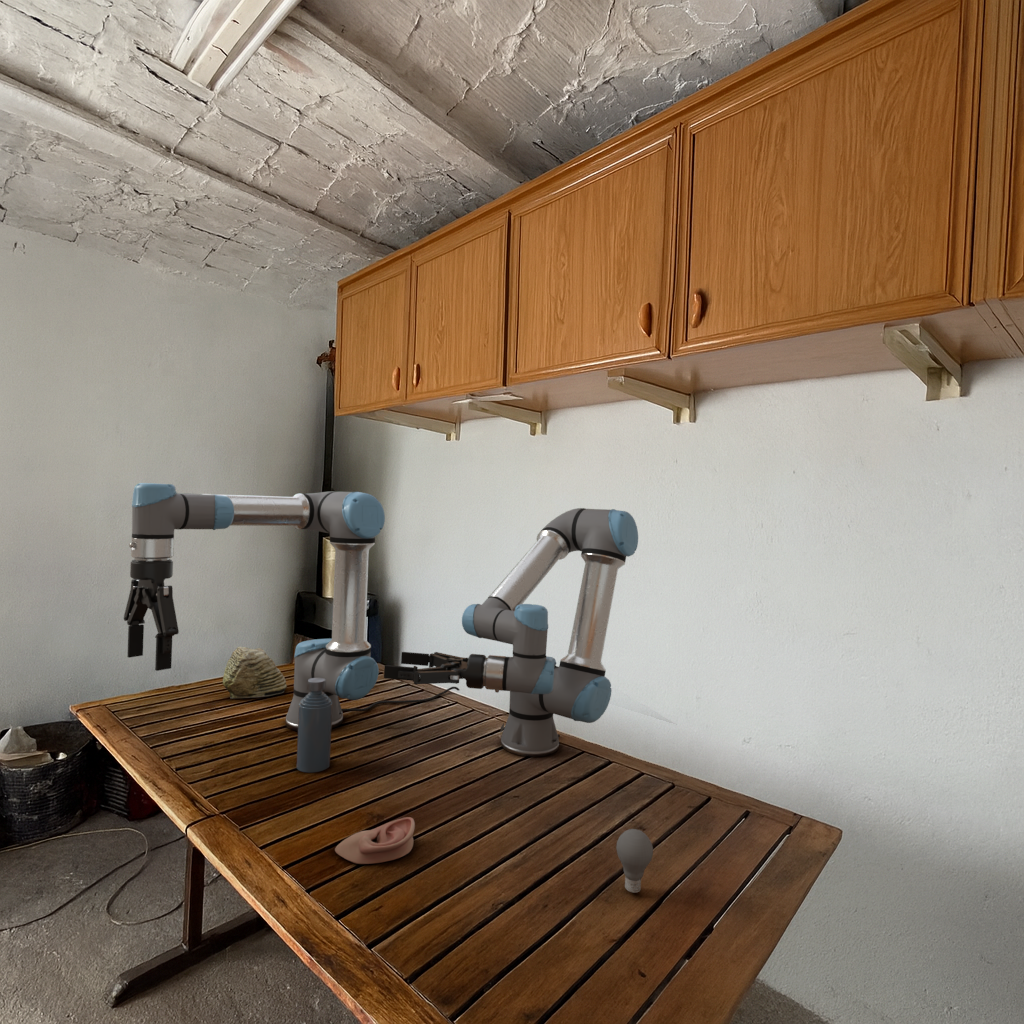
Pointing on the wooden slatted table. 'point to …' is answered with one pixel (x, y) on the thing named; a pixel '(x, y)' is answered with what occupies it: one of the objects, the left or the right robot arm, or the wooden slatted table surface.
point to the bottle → (314, 732)
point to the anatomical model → (379, 843)
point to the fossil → (252, 674)
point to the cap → (316, 684)
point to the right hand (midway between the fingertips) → (393, 664)
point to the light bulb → (634, 857)
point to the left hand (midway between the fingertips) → (148, 662)
